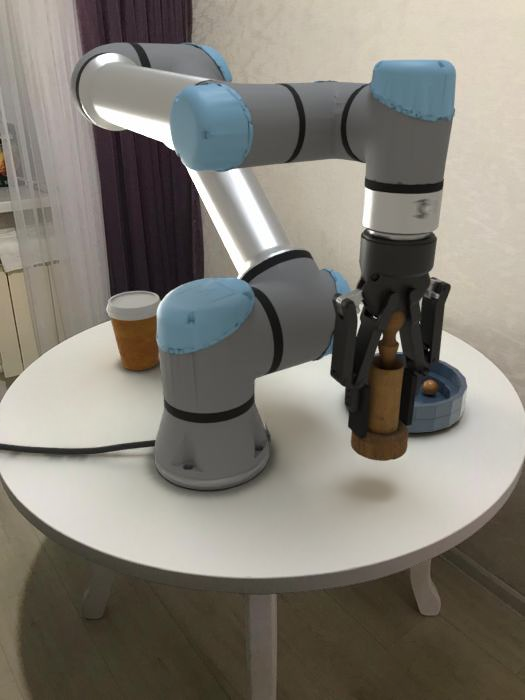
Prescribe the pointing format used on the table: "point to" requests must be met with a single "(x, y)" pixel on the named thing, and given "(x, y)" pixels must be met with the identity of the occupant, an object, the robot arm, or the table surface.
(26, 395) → the table surface
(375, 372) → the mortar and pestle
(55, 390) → the table surface
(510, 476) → the table surface
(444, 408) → the bowl
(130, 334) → the disposable coffee cup
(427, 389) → the bead
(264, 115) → the robot arm
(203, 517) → the table surface
